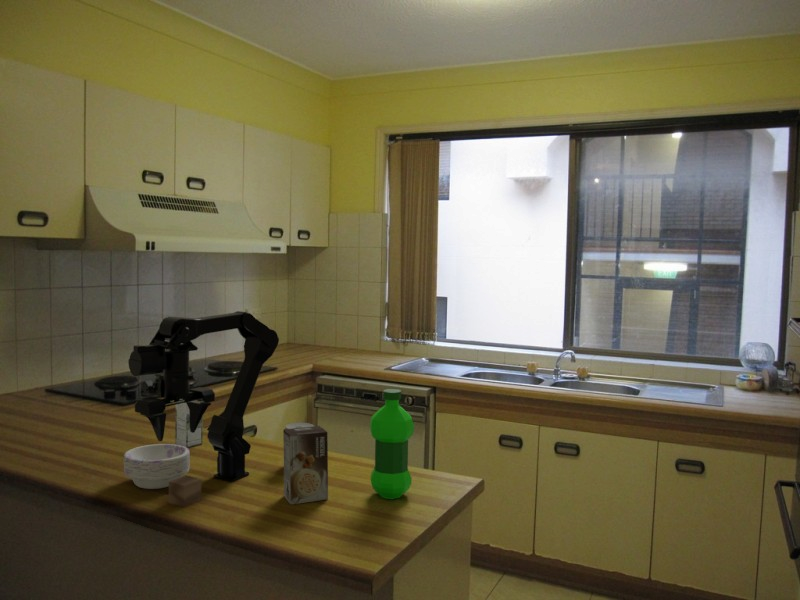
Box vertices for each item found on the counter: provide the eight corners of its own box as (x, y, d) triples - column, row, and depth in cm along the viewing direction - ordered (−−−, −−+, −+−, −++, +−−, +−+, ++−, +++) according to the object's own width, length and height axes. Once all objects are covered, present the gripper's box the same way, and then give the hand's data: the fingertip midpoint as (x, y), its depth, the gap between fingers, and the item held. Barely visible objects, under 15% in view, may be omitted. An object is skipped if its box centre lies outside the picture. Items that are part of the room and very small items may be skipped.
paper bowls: (200, 474, 168) (199, 443, 167) (172, 496, 153) (171, 462, 152) (144, 471, 170) (143, 440, 169) (111, 492, 155) (110, 459, 154)
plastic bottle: (362, 490, 158) (363, 388, 156) (402, 485, 162) (403, 385, 161) (378, 505, 149) (379, 396, 147) (419, 499, 153) (421, 393, 151)
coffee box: (320, 490, 158) (321, 425, 157) (328, 500, 152) (329, 431, 151) (282, 495, 154) (283, 428, 153) (289, 505, 148) (289, 435, 147)
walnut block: (201, 500, 151) (201, 479, 150) (184, 507, 146) (184, 485, 146) (185, 496, 153) (185, 475, 153) (168, 503, 149) (168, 481, 148)
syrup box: (192, 440, 198) (191, 392, 197) (203, 444, 194) (203, 395, 193) (174, 444, 193) (174, 395, 192) (186, 448, 190) (186, 399, 188)
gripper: (185, 362, 165) (186, 423, 166) (119, 372, 150) (120, 439, 151) (216, 367, 159) (216, 430, 160) (150, 378, 144) (151, 448, 145)
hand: (176, 436), depth 154 cm, fingers open, 9 cm apart
